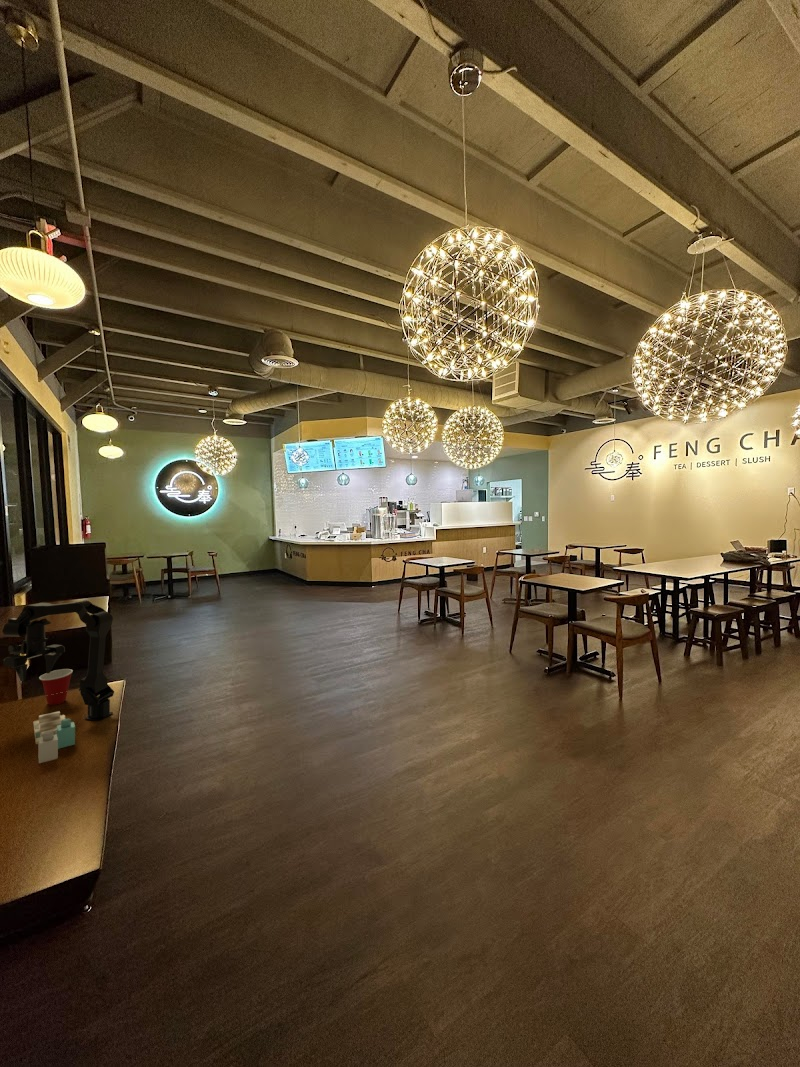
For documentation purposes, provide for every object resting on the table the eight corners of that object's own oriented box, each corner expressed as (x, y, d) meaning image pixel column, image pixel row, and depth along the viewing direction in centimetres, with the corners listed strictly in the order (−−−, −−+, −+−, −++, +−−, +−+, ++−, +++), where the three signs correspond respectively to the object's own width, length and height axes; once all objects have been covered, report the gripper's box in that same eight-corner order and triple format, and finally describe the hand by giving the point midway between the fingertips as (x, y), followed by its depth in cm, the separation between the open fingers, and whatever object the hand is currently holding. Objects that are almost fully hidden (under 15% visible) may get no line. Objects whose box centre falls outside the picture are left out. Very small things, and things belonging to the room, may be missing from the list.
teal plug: (73, 739, 148) (73, 716, 148) (74, 744, 145) (75, 720, 144) (56, 743, 145) (56, 719, 145) (57, 748, 142) (58, 724, 141)
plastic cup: (39, 700, 177) (39, 671, 177) (72, 694, 184) (73, 666, 183) (37, 710, 169) (37, 679, 168) (72, 703, 175) (72, 674, 175)
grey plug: (56, 752, 139) (56, 728, 139) (57, 758, 136) (57, 733, 136) (38, 757, 136) (38, 732, 136) (39, 763, 133) (39, 737, 133)
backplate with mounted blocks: (64, 716, 164) (64, 709, 164) (69, 735, 150) (69, 728, 150) (33, 723, 158) (33, 716, 158) (35, 744, 144) (35, 736, 144)
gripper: (43, 629, 176) (43, 667, 176) (-9, 641, 157) (-9, 684, 158) (65, 631, 173) (66, 670, 174) (15, 644, 155) (15, 687, 155)
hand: (35, 677), depth 165 cm, fingers open, 9 cm apart
